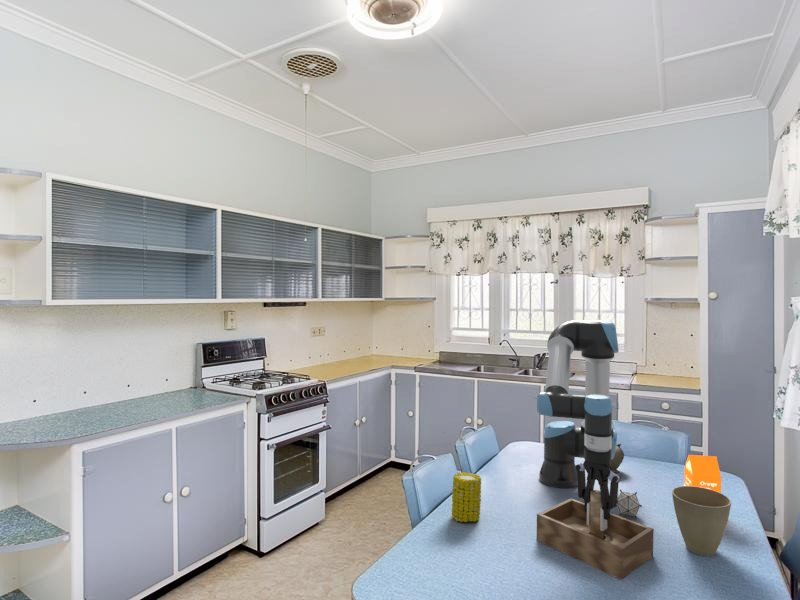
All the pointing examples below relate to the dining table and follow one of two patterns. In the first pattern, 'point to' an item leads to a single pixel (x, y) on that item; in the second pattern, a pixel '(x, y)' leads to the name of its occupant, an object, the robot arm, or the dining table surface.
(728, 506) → the plant pot
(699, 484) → the orange juice
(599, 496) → the peg
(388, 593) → the dining table surface
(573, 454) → the robot arm
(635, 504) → the game die
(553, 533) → the box
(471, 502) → the food
